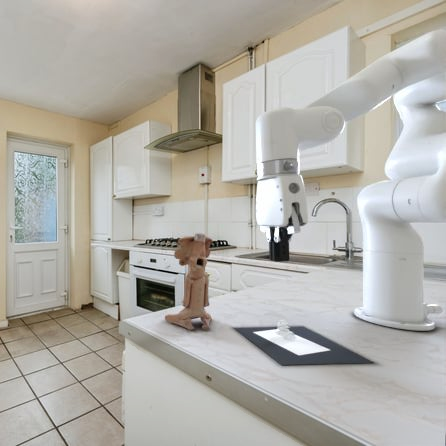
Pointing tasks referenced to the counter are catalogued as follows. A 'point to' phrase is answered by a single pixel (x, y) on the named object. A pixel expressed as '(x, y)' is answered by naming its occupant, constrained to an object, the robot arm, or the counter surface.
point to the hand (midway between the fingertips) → (279, 260)
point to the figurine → (193, 281)
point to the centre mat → (287, 357)
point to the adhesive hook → (290, 340)
